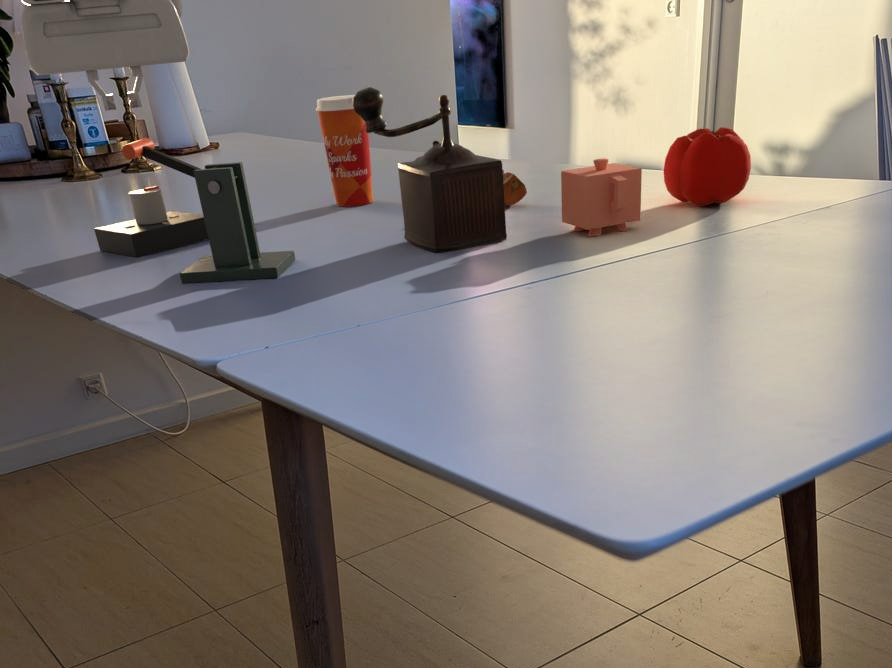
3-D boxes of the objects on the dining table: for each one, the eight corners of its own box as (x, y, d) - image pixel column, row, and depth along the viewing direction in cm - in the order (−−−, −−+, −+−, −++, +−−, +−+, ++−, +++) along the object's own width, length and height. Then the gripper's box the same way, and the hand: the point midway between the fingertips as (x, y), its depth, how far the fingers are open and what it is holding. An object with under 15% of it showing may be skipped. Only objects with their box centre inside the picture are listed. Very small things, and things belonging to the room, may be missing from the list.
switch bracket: (181, 283, 111) (155, 175, 104) (205, 265, 118) (182, 164, 111) (277, 277, 110) (257, 168, 103) (295, 260, 117) (277, 157, 110)
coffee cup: (321, 208, 147) (305, 101, 139) (341, 198, 154) (326, 96, 145) (370, 207, 145) (356, 98, 137) (387, 197, 152) (375, 93, 143)
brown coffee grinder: (470, 227, 126) (459, 75, 116) (509, 240, 118) (500, 77, 108) (366, 246, 121) (345, 88, 111) (398, 260, 113) (378, 91, 102)
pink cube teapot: (601, 218, 125) (601, 150, 121) (648, 231, 116) (651, 159, 111) (550, 226, 123) (549, 158, 118) (595, 241, 114) (595, 167, 109)
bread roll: (535, 207, 135) (534, 170, 132) (492, 213, 133) (490, 176, 131) (515, 199, 142) (513, 163, 139) (474, 205, 140) (471, 169, 137)
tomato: (673, 195, 135) (676, 125, 130) (756, 195, 130) (762, 123, 125) (652, 209, 127) (654, 136, 122) (738, 210, 123) (745, 134, 118)
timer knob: (145, 225, 128) (137, 192, 126) (131, 223, 131) (122, 190, 128) (173, 220, 131) (165, 186, 128) (158, 217, 133) (150, 185, 131)
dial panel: (136, 257, 126) (130, 232, 124) (100, 250, 132) (93, 227, 130) (215, 237, 133) (210, 214, 132) (177, 232, 139) (172, 209, 137)
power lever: (120, 160, 105) (123, 138, 104) (140, 153, 110) (143, 131, 108) (223, 202, 107) (227, 181, 105) (238, 193, 112) (242, 173, 110)
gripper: (174, -23, 120) (200, 99, 127) (9, -11, 115) (46, 115, 123) (177, -26, 115) (203, 101, 122) (4, -13, 110) (43, 118, 118)
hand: (123, 108), depth 123 cm, fingers closed
